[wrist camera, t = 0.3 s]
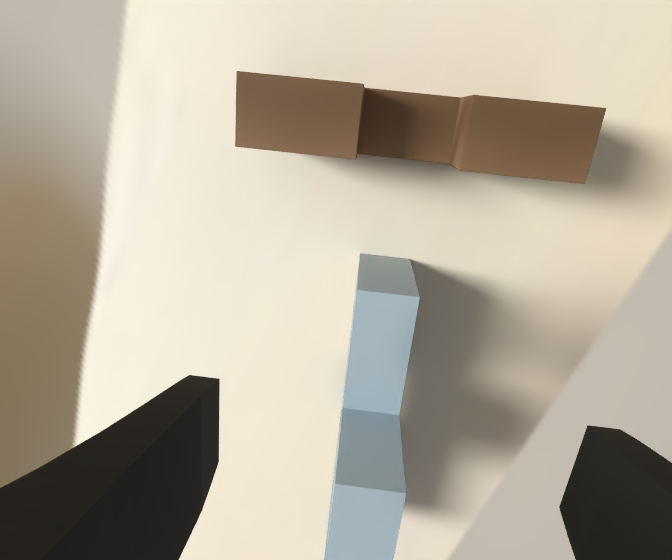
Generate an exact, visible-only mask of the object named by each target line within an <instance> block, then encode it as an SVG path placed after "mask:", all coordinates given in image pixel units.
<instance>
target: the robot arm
mask: <svg viewBox="0 0 672 560" xmlns="http://www.w3.org/2000/svg"><path fill="white" fill-rule="evenodd" d="M218 462H219V379H216V378H208V377H200V376H192V375H189V376H187V377H185V378H184V379H182V380H180V381H179V382H177V383H176V384H174V385H173V386H171V387H170V388H168V389H167V390H165V391H163V392H162V393H160V394H159V395H157V396H156V397H154V398H153V399H151V400H150V401H148V402H147V403H145V404H144V405H142V406H141V407H139V408H138V409H136V410H134V411H133V412H131V413H130V414H128V415H127V416H125V417H123V418H122V419H120V420H119V421H117V422H116V423H114V424H112V425H111V426H109V427H108V428H106V429H105V430H103V431H101V432H100V433H98V434H96V435H95V436H93V437H91V438H89V439H88V440H86V441H84V442H83V443H81V444H79V445H77V446H76V447H74V448H72V449H71V450H69V451H67V452H65V453H64V454H62V455H60V456H59V457H57V458H55V459H53V460H52V461H50V462H48V463H47V464H45V465H43V466H41V467H39V468H38V469H36V470H34V471H32V472H30V473H28V474H27V475H25V476H23V477H21V478H19V479H17V480H15V481H13V482H11V483H9V484H8V485H5V486H3V487H1V488H0V560H179V558H180V556H181V554H182V551H183V549H184V547H185V545H186V543H187V541H188V539H189V537H190V535H191V532H192V530H193V528H194V526H195V524H196V522H197V520H198V518H199V515H200V513H201V511H202V508H203V506H204V503H205V500H206V497H207V494H208V492H209V489H210V486H211V483H212V480H213V477H214V474H215V471H216V468H217V465H218ZM560 511H561V515H562V518H563V521H564V525H565V528H566V531H567V535H568V538H569V541H570V544H571V547H572V550H573V553H574V555H575V559H576V560H672V463H671V462H670V461H668V460H667V459H665V458H664V457H662V456H661V455H659V454H658V453H656V452H655V451H653V450H652V449H651V448H649V447H648V446H646V445H644V444H643V443H641V442H640V441H638V440H637V439H635V438H634V437H632V436H630V435H628V434H627V433H625V432H623V431H622V430H620V429H612V428H604V427H596V426H587V429H586V432H585V435H584V438H583V440H582V443H581V446H580V449H579V452H578V455H577V458H576V461H575V464H574V466H573V469H572V472H571V475H570V478H569V481H568V484H567V487H566V490H565V492H564V495H563V498H562V501H561V504H560Z"/></svg>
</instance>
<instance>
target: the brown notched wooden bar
mask: <svg viewBox="0 0 672 560" xmlns="http://www.w3.org/2000/svg"><path fill="white" fill-rule="evenodd" d="M605 111H606V108H599V107H589V106H579V105H569V104H559V103H549V102H539V101H529V100H519V99H509V98H499V97H489V96H479V95H472V96H467V97H461V98H459V97H450V96H440V95H430V94H420V93H410V92H400V91H390V90H380V89H370V88H365V87H364V84H360V83H350V82H340V81H330V80H320V79H310V78H300V77H290V76H280V75H270V74H260V73H250V72H240V71H237V83H236V141H235V147H244V148H254V149H263V150H272V151H282V152H291V153H300V154H310V155H319V156H328V157H338V158H347V159H356V156H357V154H365V155H374V156H384V157H393V158H402V159H412V160H421V161H431V162H440V163H449V164H451V165H452V166H454V167H455V168H457V169H458V170H460V171H469V172H478V173H488V174H497V175H506V176H516V177H525V178H535V179H544V180H553V181H563V182H572V183H581V184H585V181H586V177H587V174H588V171H589V167H590V164H591V160H592V157H593V153H594V150H595V146H596V143H597V139H598V136H599V132H600V129H601V125H602V122H603V118H604V115H605Z"/></svg>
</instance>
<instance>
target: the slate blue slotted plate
mask: <svg viewBox="0 0 672 560" xmlns="http://www.w3.org/2000/svg"><path fill="white" fill-rule="evenodd" d="M419 299H420V296H419V292H418V288H417V284H416V281H415V277H414V273H413V269H412V265H411V261H410V259H402V258H393V257H385V256H376V255H367V254H360V260H359V268H358V276H357V284H356V293H355V301H354V309H353V318H352V326H351V334H350V343H349V351H348V361H347V370H346V380H345V388H344V396H343V405H342V409H341V417H340V426H339V434H338V442H337V451H336V459H335V467H334V476H333V484H332V493H331V502H330V511H329V521H328V530H327V539H326V548H325V557H324V560H393V558H394V553H395V548H396V543H397V538H398V533H399V528H400V522H401V517H402V512H403V507H404V502H405V497H406V486H405V474H404V463H403V452H402V441H401V429H400V418H399V414H400V408H401V402H402V396H403V391H404V385H405V379H406V374H407V368H408V362H409V356H410V351H411V345H412V339H413V334H414V328H415V322H416V316H417V311H418V305H419Z"/></svg>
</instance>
